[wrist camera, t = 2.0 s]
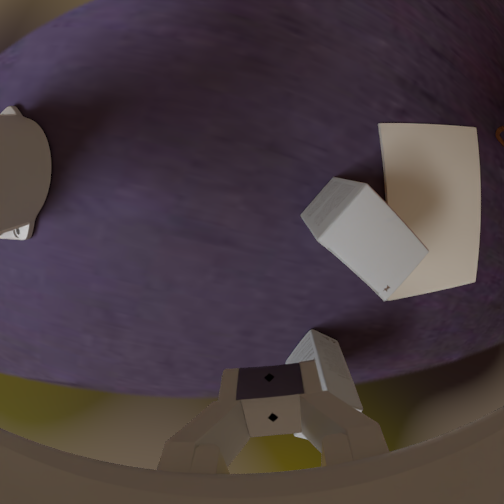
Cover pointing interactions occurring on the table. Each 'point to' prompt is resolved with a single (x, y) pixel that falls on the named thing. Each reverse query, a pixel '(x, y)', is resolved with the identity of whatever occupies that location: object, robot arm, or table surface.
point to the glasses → (498, 131)
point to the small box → (364, 234)
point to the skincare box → (327, 367)
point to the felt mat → (435, 199)
